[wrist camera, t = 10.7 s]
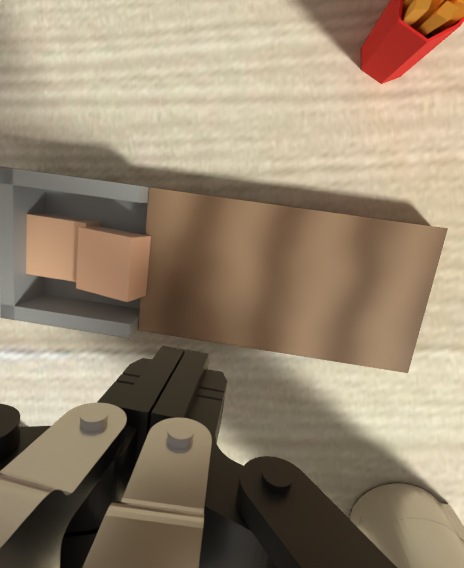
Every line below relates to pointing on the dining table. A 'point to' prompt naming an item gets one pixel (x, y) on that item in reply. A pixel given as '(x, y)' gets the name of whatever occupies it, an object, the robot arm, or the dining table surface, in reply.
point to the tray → (55, 292)
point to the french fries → (408, 35)
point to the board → (287, 278)
